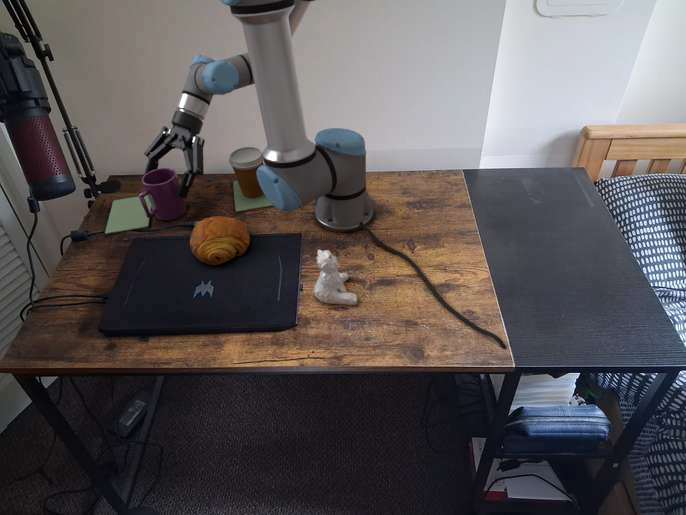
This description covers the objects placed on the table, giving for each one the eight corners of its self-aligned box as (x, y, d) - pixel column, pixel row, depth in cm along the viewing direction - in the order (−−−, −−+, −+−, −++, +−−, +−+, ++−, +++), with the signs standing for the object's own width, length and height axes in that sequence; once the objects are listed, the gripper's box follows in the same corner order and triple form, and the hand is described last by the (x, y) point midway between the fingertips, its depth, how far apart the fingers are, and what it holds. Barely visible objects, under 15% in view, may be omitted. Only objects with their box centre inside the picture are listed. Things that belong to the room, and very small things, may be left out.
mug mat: (148, 227, 121) (148, 226, 121) (105, 234, 119) (104, 233, 119) (153, 195, 133) (152, 194, 133) (113, 201, 131) (113, 200, 131)
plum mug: (172, 199, 131) (160, 165, 124) (193, 207, 127) (182, 172, 120) (139, 220, 123) (125, 185, 116) (161, 229, 120) (147, 194, 113)
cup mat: (276, 205, 126) (275, 204, 126) (236, 212, 124) (235, 211, 124) (269, 176, 138) (269, 175, 138) (233, 182, 136) (232, 181, 136)
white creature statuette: (359, 305, 96) (358, 263, 88) (320, 315, 95) (315, 273, 87) (346, 276, 103) (344, 234, 95) (309, 285, 102) (304, 243, 94)
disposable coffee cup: (267, 201, 127) (260, 162, 119) (233, 202, 127) (224, 163, 120) (272, 182, 134) (266, 145, 126) (240, 183, 135) (232, 146, 127)
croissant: (193, 276, 109) (182, 254, 103) (196, 230, 119) (186, 207, 113) (254, 266, 110) (247, 244, 104) (251, 221, 120) (245, 199, 114)
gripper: (233, 130, 120) (206, 206, 120) (168, 112, 130) (143, 182, 131) (214, 118, 113) (185, 199, 113) (147, 101, 123) (121, 175, 124)
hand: (163, 190), depth 122 cm, fingers open, 13 cm apart
